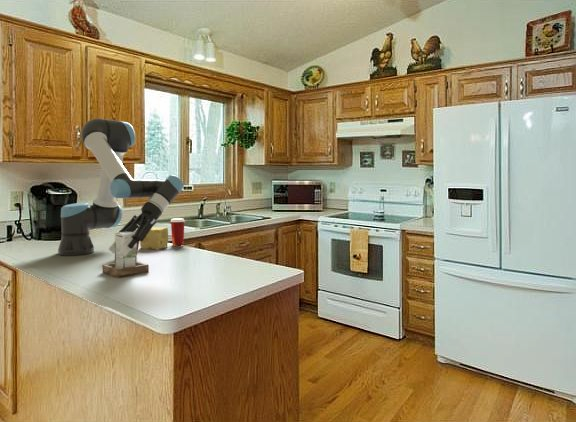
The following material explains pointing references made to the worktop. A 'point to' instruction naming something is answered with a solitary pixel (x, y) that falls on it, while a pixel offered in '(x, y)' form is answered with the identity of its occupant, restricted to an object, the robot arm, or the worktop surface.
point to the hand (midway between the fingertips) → (116, 252)
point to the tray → (125, 270)
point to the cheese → (155, 239)
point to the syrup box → (131, 257)
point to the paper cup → (177, 231)
